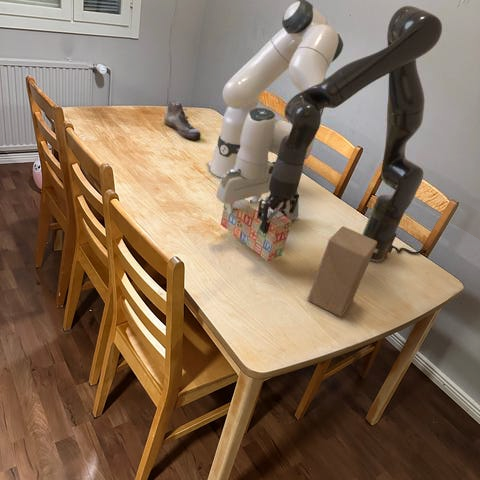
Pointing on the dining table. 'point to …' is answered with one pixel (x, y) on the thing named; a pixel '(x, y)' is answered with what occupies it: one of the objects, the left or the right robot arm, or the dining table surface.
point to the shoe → (180, 121)
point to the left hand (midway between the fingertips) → (241, 209)
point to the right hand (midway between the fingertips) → (272, 228)
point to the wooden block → (341, 270)
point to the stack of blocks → (257, 228)
